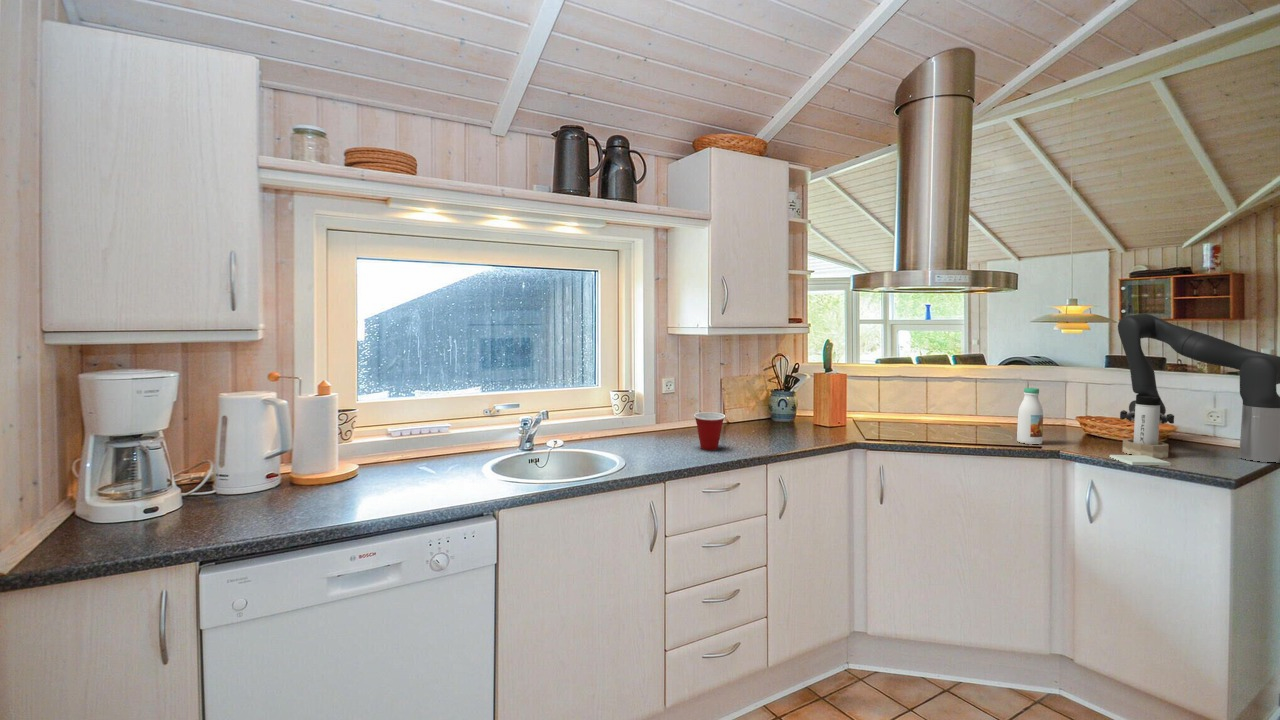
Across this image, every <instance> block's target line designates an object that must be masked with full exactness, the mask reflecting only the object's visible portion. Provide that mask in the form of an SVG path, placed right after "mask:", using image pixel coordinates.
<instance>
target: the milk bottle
mask: <svg viewBox="0 0 1280 720" xmlns="http://www.w3.org/2000/svg"><path fill="white" fill-rule="evenodd" d="M1023 395H1024V397H1023V399H1022V401H1021V404H1020V405H1019V407H1018V411H1017V429H1016V431H1017V433H1016V441H1018V442H1017V443H1019V442H1020V444H1023V443H1025V445H1032V444H1039V445H1042V444H1043V434H1044V433H1043V429H1044V428H1043V427H1044V409H1043V406H1042V404H1041V402H1040V399H1039V395H1040V388H1037V387H1024V388H1023Z"/></svg>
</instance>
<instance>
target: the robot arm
mask: <svg viewBox="0 0 1280 720" xmlns="http://www.w3.org/2000/svg"><path fill="white" fill-rule="evenodd" d="M1117 324H1118V325H1117V331H1118V336H1119V339H1120V341H1121V345H1122V348H1123V350H1124V353H1125V357H1126V360H1127V362H1128V367H1129V371H1130V379H1131V380H1130V381H1131V388H1132V391H1133V393H1134V394H1136V395H1137V394H1138V393H1145V394H1148V395H1155V396H1158V397H1160V419H1159V424H1161V425H1164V424H1168V423H1169V424H1175V415H1174V414H1173V413H1167V412H1166V411H1167V410H1166V406H1165V404H1164V402H1163V400H1162V398H1161V396H1160V395H1159V391H1158V389H1157V388H1158V387H1157V383H1156V382H1157V380H1156V374H1155V369H1154V368H1153V365H1152V364H1151V363H1150V361H1149V359H1148V358H1147V356H1146V355H1145V354H1144V351H1143V349H1142V345H1141V343H1142V342H1141V339H1152V340H1157V341H1160V342H1163V343H1165V344H1167V345H1169V346H1170V347H1171V349H1173V350H1174V351H1175V352H1176V353H1178V355H1181V356H1183V357H1186V358H1187V359H1191V360H1193V361H1197V362H1200V363H1205V364H1209V365H1212V366H1213V365H1214V366H1218V367H1225V368H1231V369H1235V370H1238V371H1239V396H1240V398H1241V400H1242V405H1241V406H1242V408H1241V424H1240V436H1239V437H1240V438H1239V440H1240V441H1239V456H1238V458H1239V459H1241V458H1242V460H1245V459H1246V460H1247V461H1250V460H1253V461H1252V462H1257V461H1260V462H1259V463H1267V462H1276V463H1275V464H1277V463H1280V395H1279V394H1278V392H1277V385H1279V384H1280V356H1279V355H1274V354H1270V353H1266V352H1261V351H1257V350H1252V349H1248V348H1245V347H1242V346H1240V345H1237V344H1234V343H1233V342H1229V341H1226V340H1224V339H1221V338H1218V337H1214V336H1213V335H1210V334H1207V333H1203V332H1200V331H1196V330H1193V329H1190V328H1187V327H1183V326H1181V325H1176V324H1173V323H1171V322H1169V321H1166V320H1164V319H1161V318H1159V317H1157V316H1155V315H1153V314H1149V313H1138V314H1132V315H1125V316H1123V317H1122V318H1121V319H1119V321H1118V323H1117ZM1135 404H1136V399H1135V400H1131V402H1129V405H1128V411H1129V412H1128V411H1127V410H1124V409H1123V410H1121V411H1120V412H1119V419H1120V420H1122V421H1123V420H1125V419H1126V420H1127V421H1128V422H1135V406H1136V405H1135ZM1166 413H1167V414H1166ZM1246 460H1245V461H1246Z"/></svg>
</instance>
